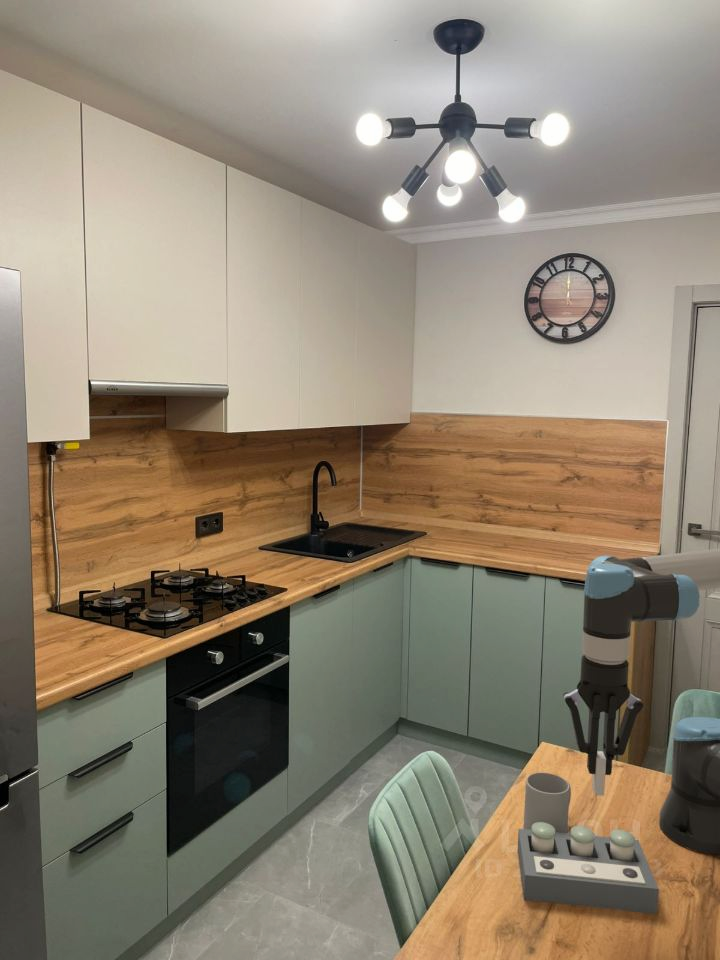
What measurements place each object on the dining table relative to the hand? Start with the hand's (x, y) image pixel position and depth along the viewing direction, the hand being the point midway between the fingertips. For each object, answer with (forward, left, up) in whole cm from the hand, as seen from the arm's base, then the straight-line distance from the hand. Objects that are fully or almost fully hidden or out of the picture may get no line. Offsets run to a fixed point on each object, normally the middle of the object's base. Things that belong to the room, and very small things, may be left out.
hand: (598, 791), depth 124 cm
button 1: (+8, -7, -16) cm, 19 cm away
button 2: (-6, -7, -16) cm, 19 cm away
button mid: (+1, -7, -16) cm, 18 cm away
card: (+1, -1, -15) cm, 15 cm away
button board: (+1, -5, -20) cm, 20 cm away
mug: (+5, -19, -20) cm, 28 cm away
